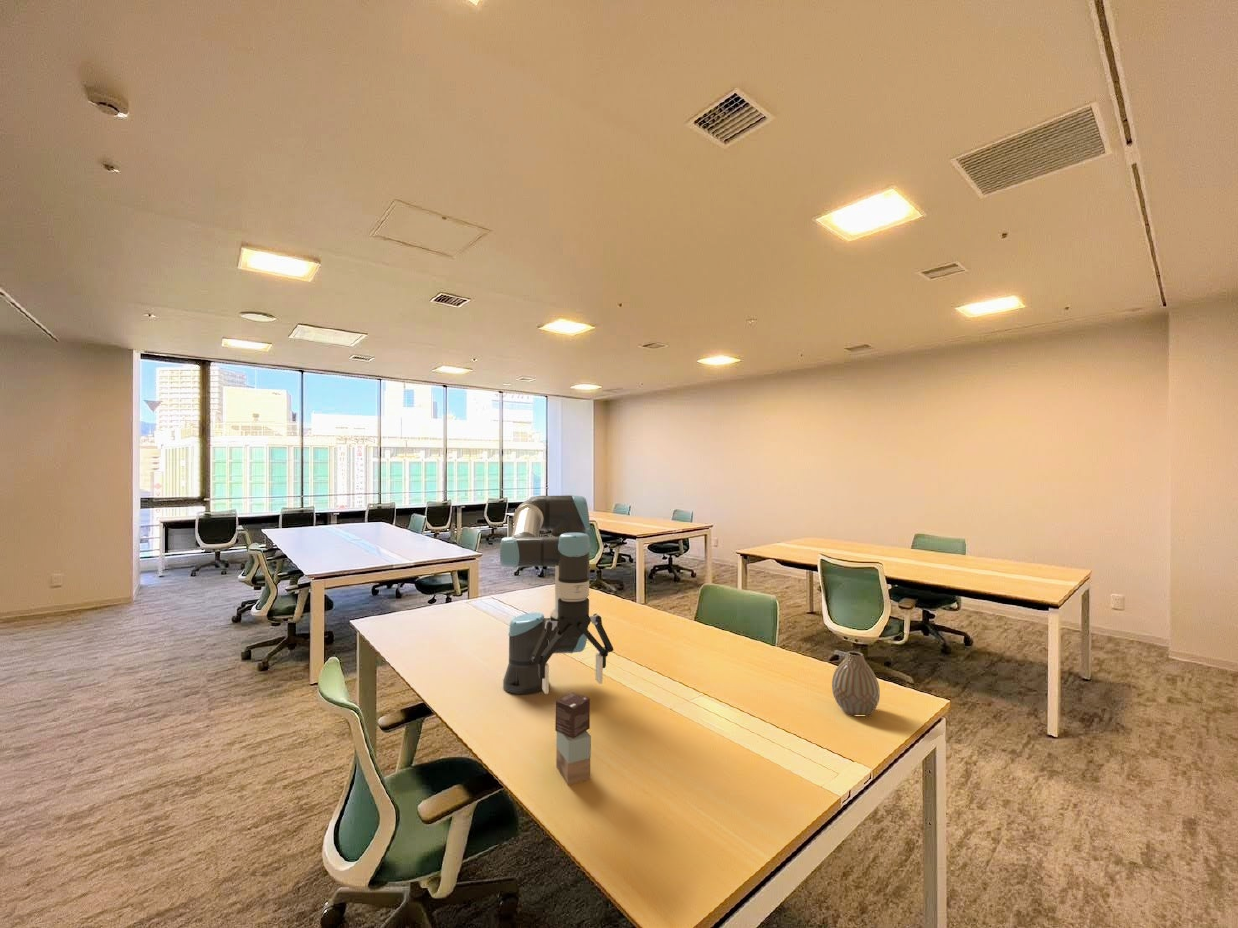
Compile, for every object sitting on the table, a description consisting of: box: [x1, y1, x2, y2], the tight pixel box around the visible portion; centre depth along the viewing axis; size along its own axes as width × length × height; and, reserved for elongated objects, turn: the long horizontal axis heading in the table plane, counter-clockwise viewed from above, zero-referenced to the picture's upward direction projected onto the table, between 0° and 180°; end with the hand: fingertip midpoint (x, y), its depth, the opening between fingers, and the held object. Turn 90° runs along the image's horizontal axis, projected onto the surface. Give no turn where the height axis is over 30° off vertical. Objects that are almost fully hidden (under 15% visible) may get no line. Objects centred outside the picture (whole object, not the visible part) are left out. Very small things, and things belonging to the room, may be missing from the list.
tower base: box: [555, 747, 591, 786], centre depth 118 cm, size 8×6×5 cm
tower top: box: [555, 730, 592, 764], centre depth 118 cm, size 8×6×5 cm
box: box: [554, 692, 591, 739], centre depth 119 cm, size 6×6×7 cm
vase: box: [831, 650, 881, 716], centre depth 150 cm, size 13×13×18 cm
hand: (572, 686), depth 119 cm, fingers open, 13 cm apart
